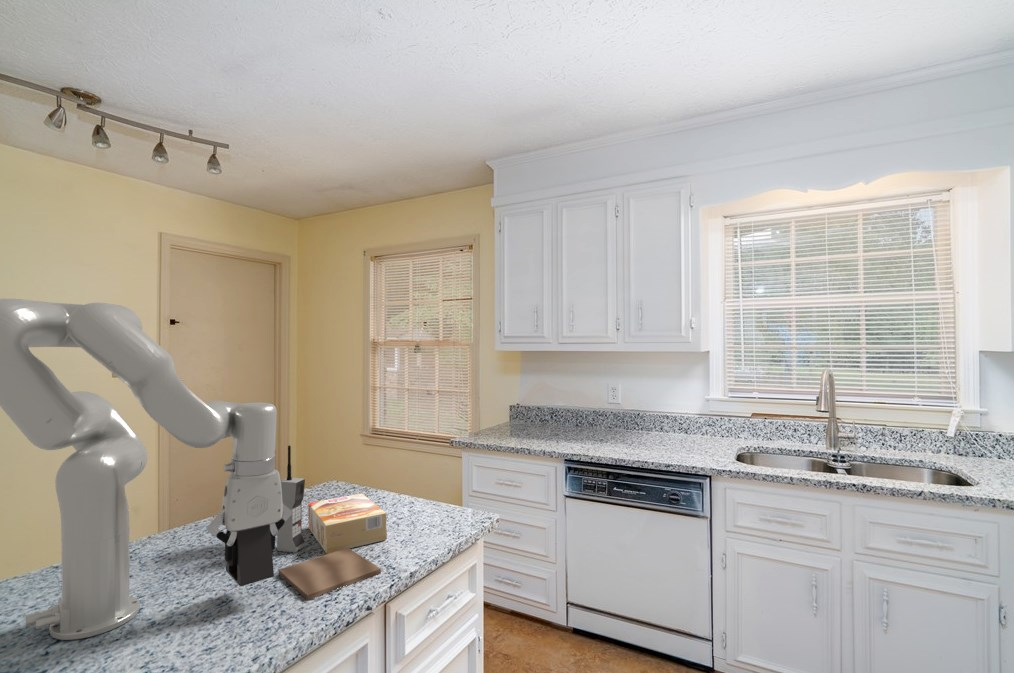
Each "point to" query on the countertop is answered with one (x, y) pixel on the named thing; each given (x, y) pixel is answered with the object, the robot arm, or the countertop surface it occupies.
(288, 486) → the vintage mobile phone
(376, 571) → the walnut board
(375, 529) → the coffeecake box
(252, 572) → the phone stand
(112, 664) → the countertop surface
